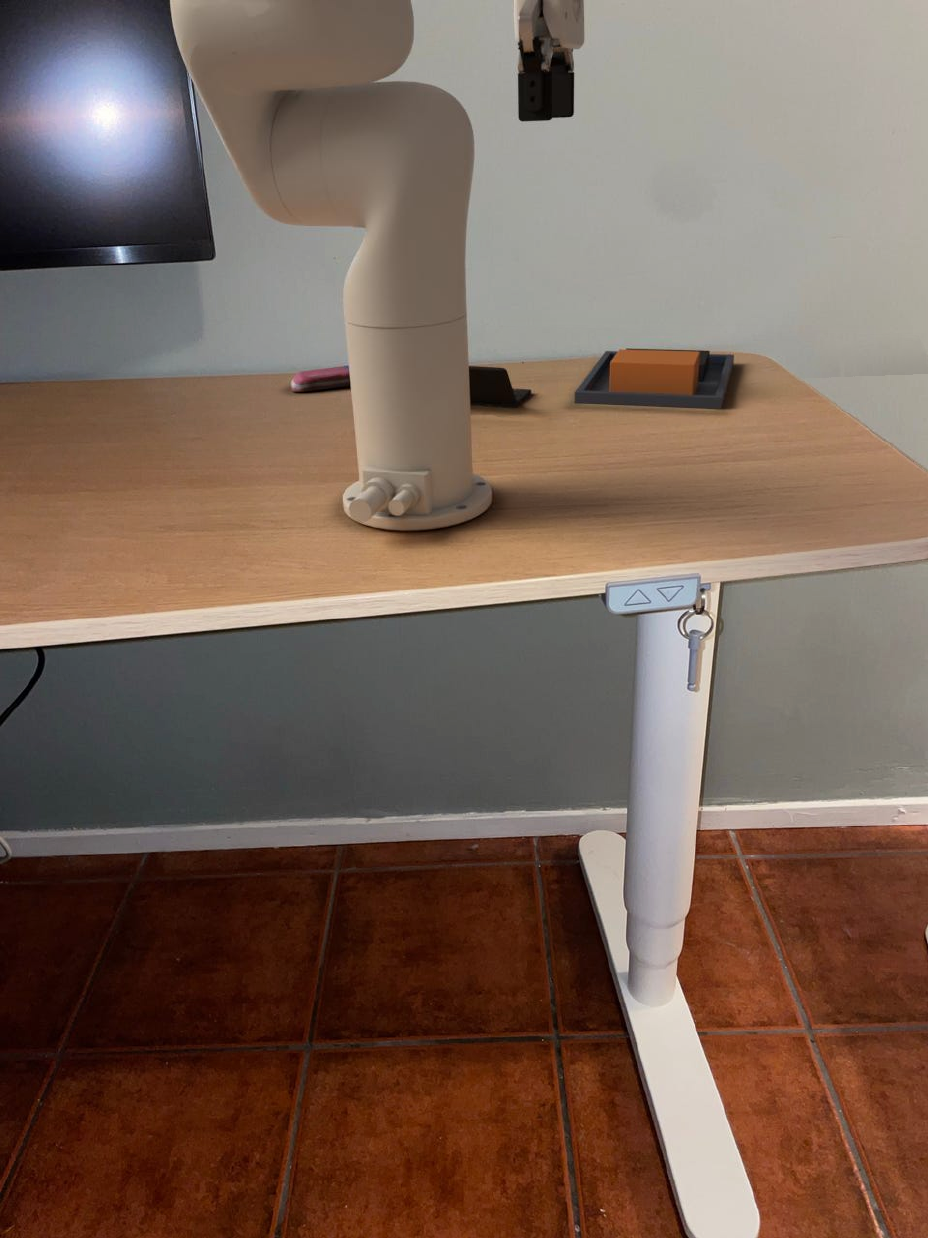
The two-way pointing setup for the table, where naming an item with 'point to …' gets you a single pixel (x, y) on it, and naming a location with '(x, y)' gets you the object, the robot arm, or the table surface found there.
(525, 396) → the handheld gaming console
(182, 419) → the table surface
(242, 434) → the table surface
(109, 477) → the table surface
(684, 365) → the orange block
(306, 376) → the eraser
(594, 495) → the table surface
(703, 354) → the rubber pad
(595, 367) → the pad tray
